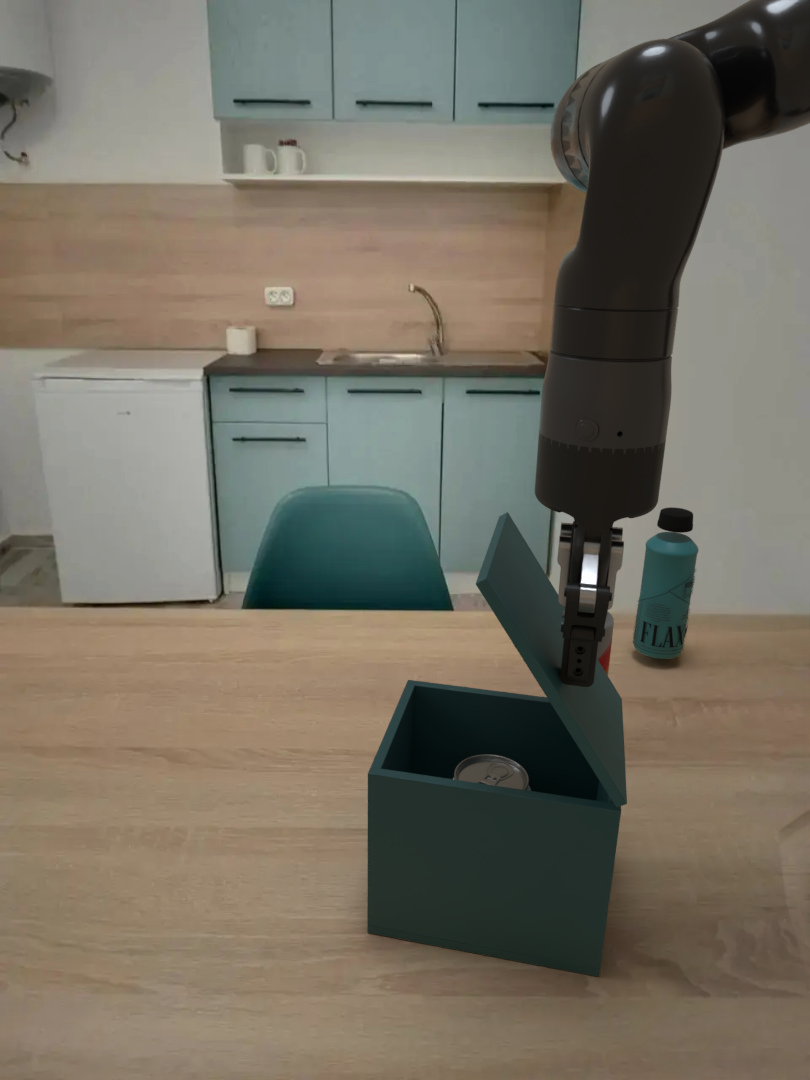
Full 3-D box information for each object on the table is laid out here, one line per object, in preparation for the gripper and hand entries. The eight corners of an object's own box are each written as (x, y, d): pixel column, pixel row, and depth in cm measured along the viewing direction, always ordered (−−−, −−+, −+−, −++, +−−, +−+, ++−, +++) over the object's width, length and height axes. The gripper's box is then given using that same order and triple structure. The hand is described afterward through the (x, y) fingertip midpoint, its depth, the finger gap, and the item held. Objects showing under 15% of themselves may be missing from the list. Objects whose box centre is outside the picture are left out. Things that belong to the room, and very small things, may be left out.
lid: (475, 583, 52) (485, 578, 52) (498, 516, 65) (507, 511, 64) (616, 808, 56) (627, 804, 55) (613, 702, 68) (622, 699, 68)
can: (537, 894, 67) (549, 770, 63) (499, 946, 62) (509, 816, 58) (468, 860, 71) (475, 741, 66) (427, 908, 66) (431, 782, 61)
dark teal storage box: (367, 933, 64) (367, 773, 59) (404, 819, 77) (407, 679, 71) (599, 977, 61) (621, 811, 56) (599, 850, 73) (617, 705, 68)
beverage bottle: (628, 665, 105) (647, 515, 98) (632, 642, 111) (650, 499, 104) (682, 674, 103) (705, 522, 96) (683, 650, 109) (705, 505, 102)
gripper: (676, 460, 43) (638, 743, 49) (659, 410, 55) (630, 642, 61) (531, 450, 45) (511, 726, 51) (545, 404, 57) (528, 631, 63)
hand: (576, 679), depth 56 cm, fingers closed
